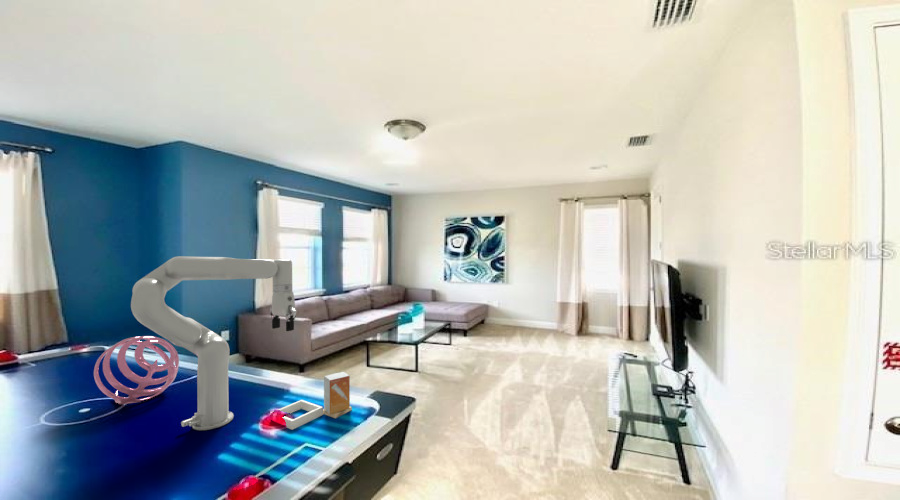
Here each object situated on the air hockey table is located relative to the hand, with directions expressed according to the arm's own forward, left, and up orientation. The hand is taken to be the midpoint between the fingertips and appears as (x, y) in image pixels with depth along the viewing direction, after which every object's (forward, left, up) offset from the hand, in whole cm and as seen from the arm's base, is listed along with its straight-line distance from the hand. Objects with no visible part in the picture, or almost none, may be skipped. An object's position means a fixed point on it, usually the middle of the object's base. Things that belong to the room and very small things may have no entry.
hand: (282, 329), depth 146 cm
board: (+5, -27, -30) cm, 41 cm away
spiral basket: (-30, +56, -31) cm, 70 cm away
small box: (+5, -27, -29) cm, 40 cm away
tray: (-6, -18, -30) cm, 36 cm away
